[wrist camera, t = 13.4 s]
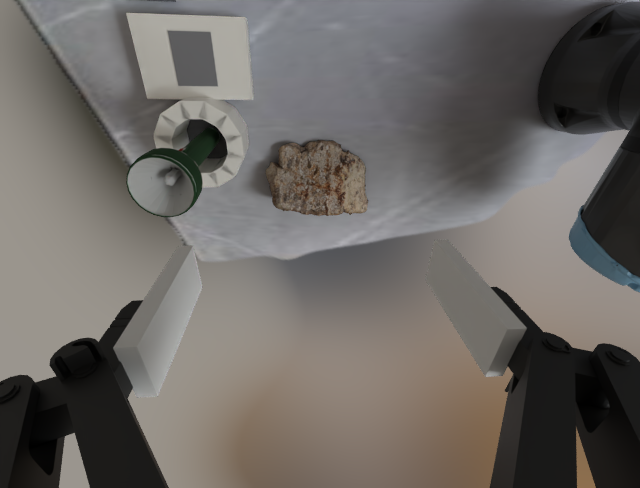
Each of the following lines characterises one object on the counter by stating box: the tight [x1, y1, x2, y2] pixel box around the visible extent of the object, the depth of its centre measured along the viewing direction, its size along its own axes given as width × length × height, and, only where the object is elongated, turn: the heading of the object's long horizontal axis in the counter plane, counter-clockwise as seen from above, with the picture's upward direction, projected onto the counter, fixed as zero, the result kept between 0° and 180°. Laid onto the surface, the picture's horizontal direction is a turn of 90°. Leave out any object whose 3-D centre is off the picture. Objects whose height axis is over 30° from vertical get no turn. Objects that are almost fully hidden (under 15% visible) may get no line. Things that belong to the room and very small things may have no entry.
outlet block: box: [126, 13, 254, 187], centre depth 35 cm, size 12×17×6 cm
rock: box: [266, 140, 368, 216], centre depth 42 cm, size 15×10×6 cm
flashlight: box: [127, 128, 220, 217], centre depth 32 cm, size 5×5×20 cm
